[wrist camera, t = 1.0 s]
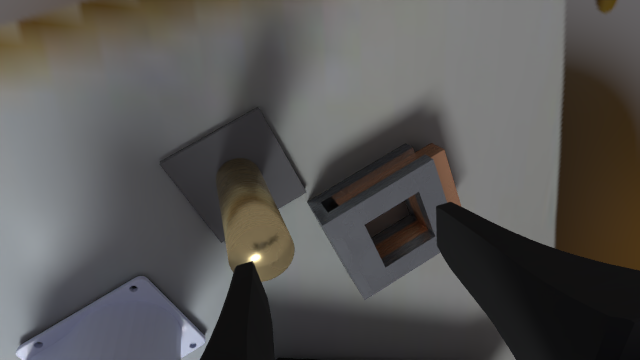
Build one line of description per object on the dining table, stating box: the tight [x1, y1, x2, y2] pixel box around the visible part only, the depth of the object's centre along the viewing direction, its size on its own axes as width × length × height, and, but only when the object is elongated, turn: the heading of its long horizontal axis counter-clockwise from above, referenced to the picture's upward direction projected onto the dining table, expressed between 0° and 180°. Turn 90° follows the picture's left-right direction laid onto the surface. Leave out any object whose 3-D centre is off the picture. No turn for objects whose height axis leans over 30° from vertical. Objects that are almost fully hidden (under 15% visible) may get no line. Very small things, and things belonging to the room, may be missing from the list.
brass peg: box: [216, 158, 294, 282], centre depth 20 cm, size 3×3×9 cm
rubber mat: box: [160, 107, 306, 243], centre depth 24 cm, size 7×7×1 cm
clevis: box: [307, 143, 461, 300], centre depth 28 cm, size 10×8×4 cm
